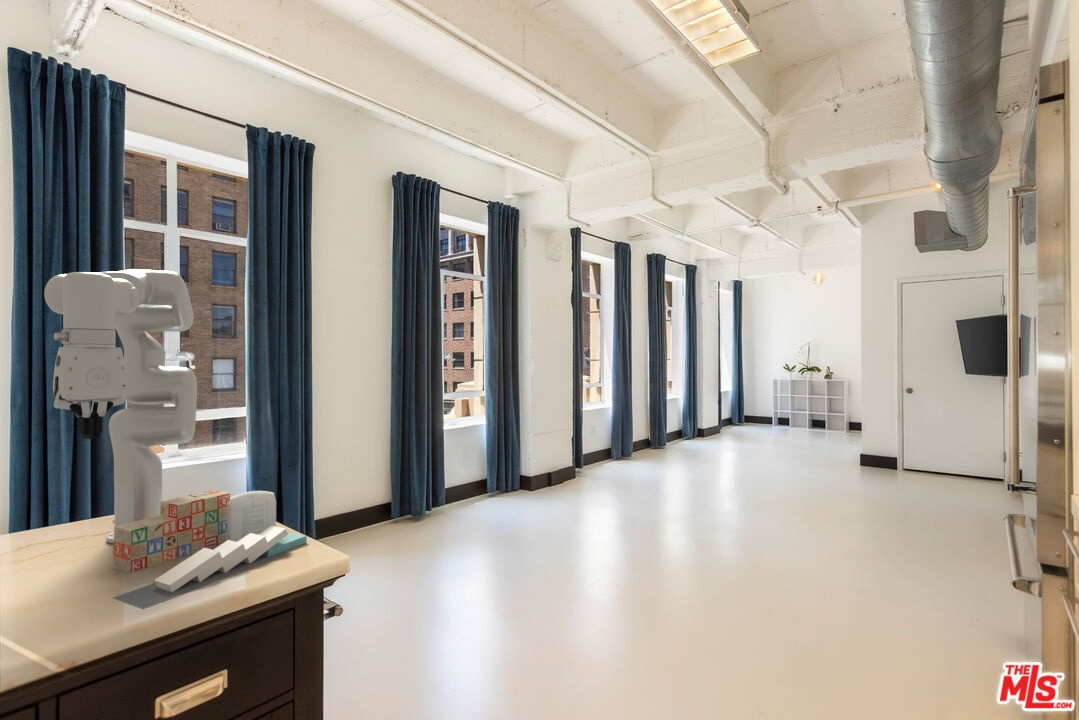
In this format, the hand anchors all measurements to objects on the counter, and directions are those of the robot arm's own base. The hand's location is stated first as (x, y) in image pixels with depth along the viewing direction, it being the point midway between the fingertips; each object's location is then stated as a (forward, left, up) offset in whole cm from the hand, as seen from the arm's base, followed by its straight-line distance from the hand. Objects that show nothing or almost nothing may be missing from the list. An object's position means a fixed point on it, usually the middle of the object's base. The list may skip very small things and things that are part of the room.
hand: (90, 437), depth 102 cm
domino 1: (+12, +6, -28) cm, 31 cm away
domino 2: (+12, +11, -28) cm, 32 cm away
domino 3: (+12, +16, -28) cm, 34 cm away
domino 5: (+12, +26, -28) cm, 40 cm away
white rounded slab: (+2, +31, -29) cm, 43 cm away
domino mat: (+12, +15, -29) cm, 35 cm away
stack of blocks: (-6, +18, -30) cm, 35 cm away
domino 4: (+12, +21, -28) cm, 37 cm away
